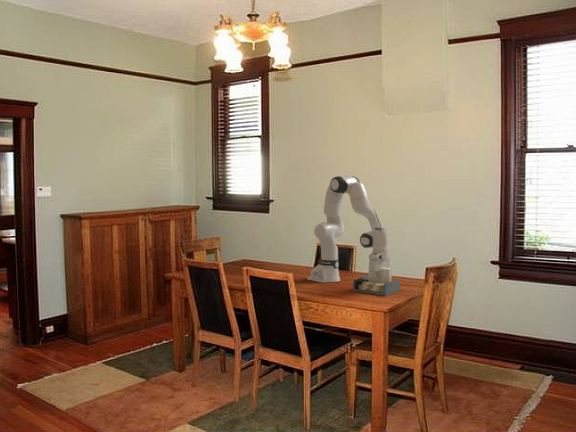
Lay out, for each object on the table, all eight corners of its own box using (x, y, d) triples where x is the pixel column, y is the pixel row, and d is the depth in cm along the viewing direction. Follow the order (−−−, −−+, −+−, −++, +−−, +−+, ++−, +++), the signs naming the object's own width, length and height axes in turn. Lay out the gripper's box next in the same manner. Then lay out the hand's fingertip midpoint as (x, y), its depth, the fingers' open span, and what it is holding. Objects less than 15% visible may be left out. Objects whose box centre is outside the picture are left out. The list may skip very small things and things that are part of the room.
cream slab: (368, 286, 331) (368, 266, 330) (370, 285, 333) (370, 266, 332) (389, 289, 322) (389, 269, 321) (391, 288, 325) (391, 268, 324)
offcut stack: (358, 288, 324) (358, 282, 323) (363, 287, 328) (363, 280, 328) (382, 292, 314) (382, 285, 314) (387, 290, 318) (387, 284, 318)
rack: (352, 291, 324) (353, 279, 324) (367, 286, 338) (367, 275, 338) (386, 296, 311) (386, 284, 310) (400, 290, 325) (400, 279, 325)
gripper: (383, 252, 336) (383, 274, 337) (367, 256, 320) (366, 279, 321) (392, 253, 332) (392, 275, 334) (376, 257, 316) (376, 280, 317)
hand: (379, 277), depth 327 cm, fingers open, 4 cm apart
